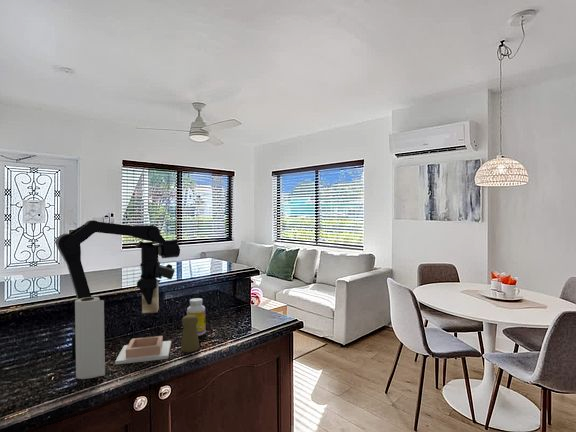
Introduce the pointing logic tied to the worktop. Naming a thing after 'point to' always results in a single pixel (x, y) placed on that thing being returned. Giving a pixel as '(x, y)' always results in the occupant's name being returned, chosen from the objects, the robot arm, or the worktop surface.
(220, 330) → the worktop surface
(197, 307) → the supplement bottle
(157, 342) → the pocket plate
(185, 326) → the olive pepper mill
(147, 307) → the maple block
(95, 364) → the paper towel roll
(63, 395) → the worktop surface
